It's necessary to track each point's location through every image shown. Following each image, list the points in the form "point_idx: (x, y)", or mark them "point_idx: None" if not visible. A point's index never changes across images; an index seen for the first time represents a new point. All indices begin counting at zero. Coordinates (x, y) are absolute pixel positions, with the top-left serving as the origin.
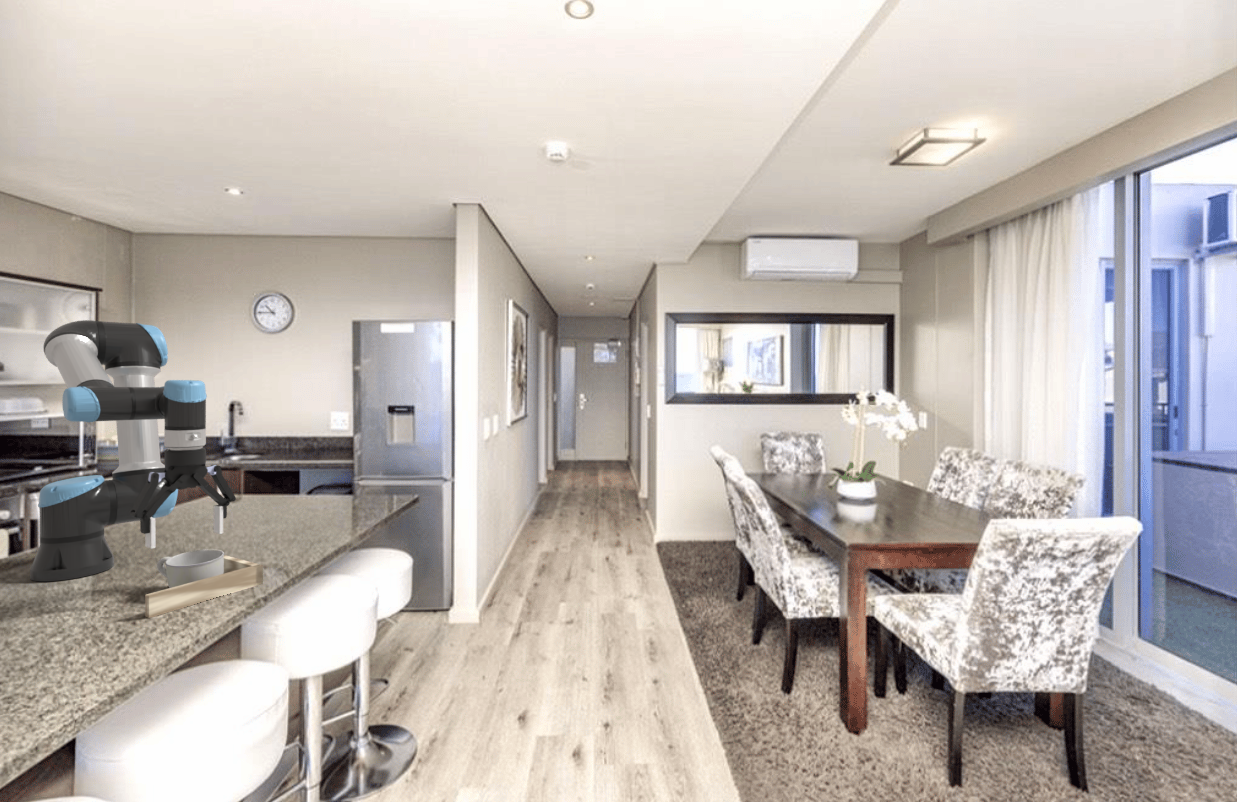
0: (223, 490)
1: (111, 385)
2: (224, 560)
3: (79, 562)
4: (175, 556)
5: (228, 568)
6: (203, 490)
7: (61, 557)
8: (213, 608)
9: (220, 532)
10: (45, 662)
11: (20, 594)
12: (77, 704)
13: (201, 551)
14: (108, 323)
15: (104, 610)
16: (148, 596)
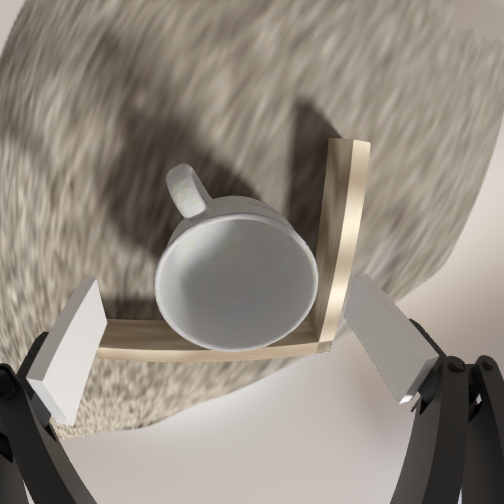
0: (468, 446)
1: None
2: (340, 218)
3: None
4: (206, 224)
5: (329, 230)
6: (421, 483)
7: None
8: (194, 368)
9: (348, 319)
10: (16, 355)
11: None
12: (56, 432)
13: (290, 235)
14: None
15: (64, 214)
16: (98, 356)
